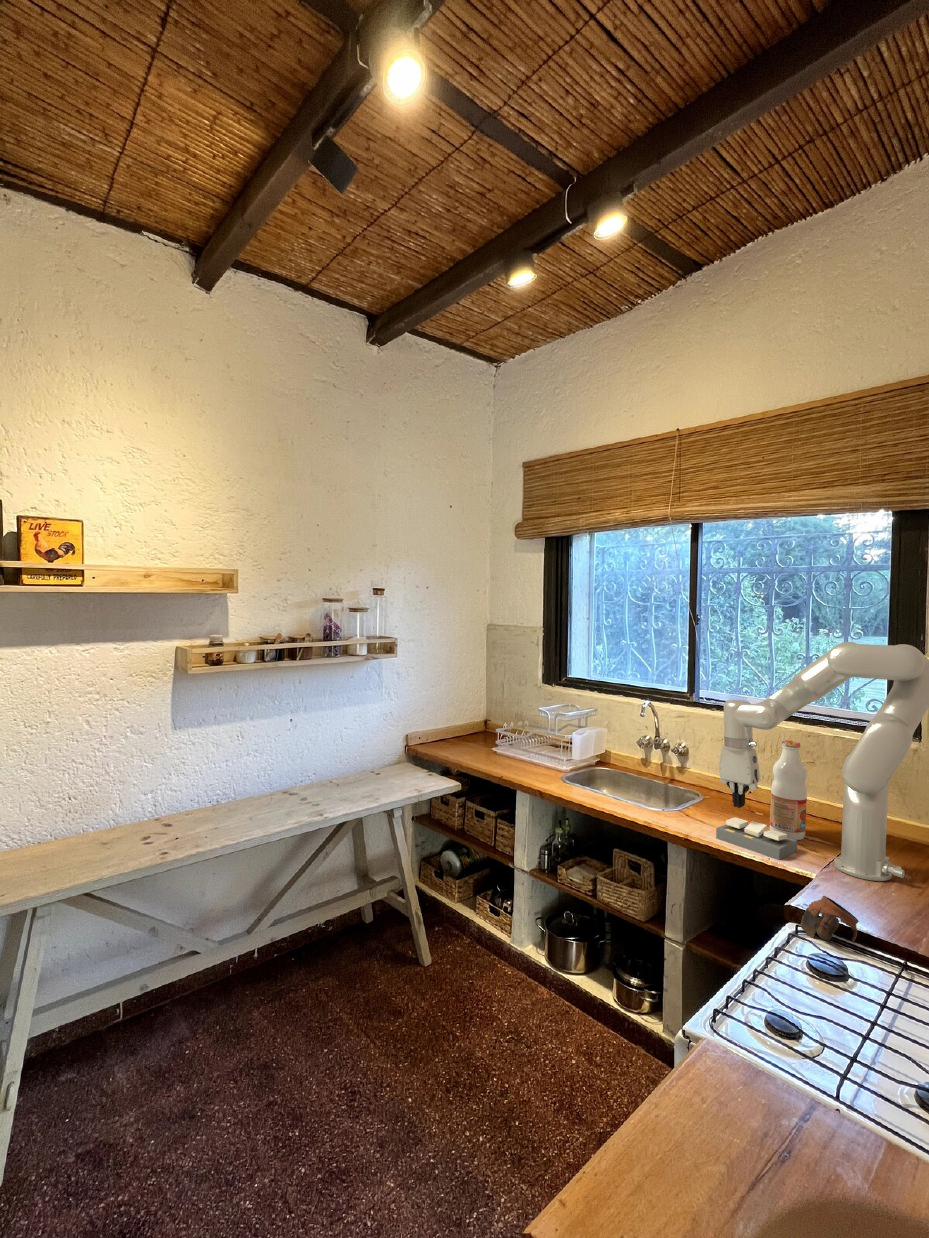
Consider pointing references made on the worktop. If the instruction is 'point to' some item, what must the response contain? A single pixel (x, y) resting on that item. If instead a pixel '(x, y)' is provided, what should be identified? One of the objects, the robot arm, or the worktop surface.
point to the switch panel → (757, 842)
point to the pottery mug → (826, 918)
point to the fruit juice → (789, 793)
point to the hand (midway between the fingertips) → (738, 806)
